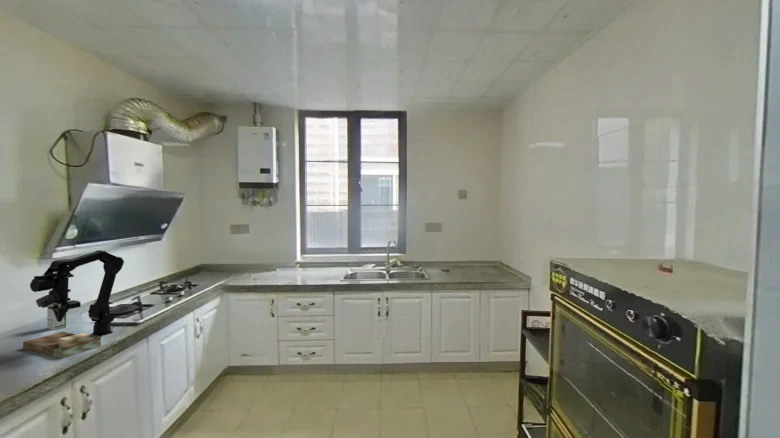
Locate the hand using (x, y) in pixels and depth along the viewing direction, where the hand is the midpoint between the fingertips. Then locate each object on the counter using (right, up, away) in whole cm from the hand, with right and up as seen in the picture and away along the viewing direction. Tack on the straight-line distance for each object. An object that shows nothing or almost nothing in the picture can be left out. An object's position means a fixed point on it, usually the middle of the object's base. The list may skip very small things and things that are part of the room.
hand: (59, 321), depth 177 cm
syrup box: (-23, -10, +25) cm, 35 cm away
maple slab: (+10, -9, -4) cm, 14 cm away
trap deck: (+2, -12, 0) cm, 12 cm away
